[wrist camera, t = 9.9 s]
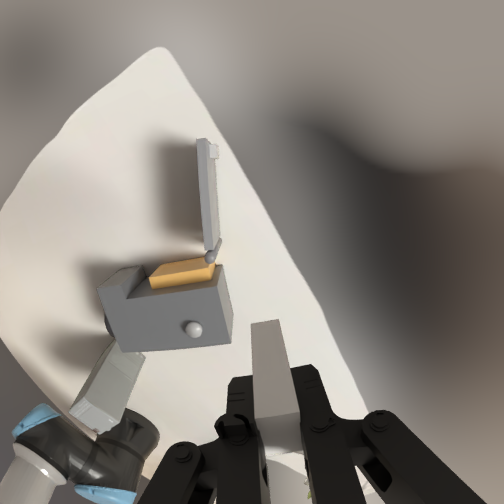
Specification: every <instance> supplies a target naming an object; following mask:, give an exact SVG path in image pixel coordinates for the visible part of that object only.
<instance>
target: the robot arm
mask: <svg viewBox="0 0 504 504" xmlns="http://www.w3.org/2000/svg"><path fill="white" fill-rule="evenodd" d="M251 344H252V368H253V375H249V376H242V377H234V378H233V379H232V380H231V382H230V383H229V385H228V396H227V409H226V414H224V415H222V416H220V417H219V418H218V420H217V421H216V423H215V425H214V427H215V429H216V432H217V434H218V436H219V438H218V439H216V440H215V441H212V442H210V443H207V444H203V445H200V446H197V445H196V444H194V443H191V442H179V443H175V444H174V445H172V446H171V447H170V448H169V449H168V450H167V452H166V453H165V455H164V457H163V459H162V461H161V462H160V464H159V466H158V468H157V470H156V471H155V473H154V475H153V477H152V479H151V480H150V482H149V484H148V486H147V487H146V489H145V491H144V493H143V494H142V496H141V498H140V500H139V502H138V503H137V504H213V503H214V501H215V498H216V504H271V502H270V490H269V478H268V467H267V464H266V457H265V454H266V456H271V455H278V454H285V453H291V452H297V451H302V450H303V452H304V459H305V469H306V471H307V476H308V482H309V487H310V492H311V498H312V503H313V504H366V501H365V497H364V494H363V491H362V488H361V485H360V482H359V479H358V475H357V472H356V469H355V466H357V467H358V468H359V469H360V471H361V472H362V473H363V475H364V476H365V477H366V479H367V480H368V481H369V483H370V484H371V485H372V487H373V488H374V489H375V491H376V492H377V493H378V494H379V496H380V497H381V499H382V500H383V501H384V502H385V504H487V503H485V502H484V501H483V500H482V499H481V498H480V497H479V496H478V495H477V494H476V493H475V492H474V491H473V490H472V489H471V488H470V487H468V486H467V485H466V484H465V483H464V482H463V481H462V480H461V479H460V478H459V477H458V476H457V475H456V474H455V473H454V472H453V471H452V470H451V469H450V468H449V467H448V466H447V465H445V464H444V463H443V462H442V461H441V460H440V459H439V458H438V457H437V456H436V455H435V454H434V453H433V452H432V451H431V450H430V449H429V448H428V447H427V446H426V445H425V444H424V443H423V442H422V441H421V440H420V439H419V438H418V437H417V436H416V435H415V434H414V433H413V432H412V431H411V430H410V429H408V427H407V426H406V425H405V424H404V423H403V422H402V421H401V420H400V419H399V418H398V417H397V416H396V415H395V414H393V413H391V412H390V411H386V410H376V411H374V412H371V413H369V414H368V415H367V416H365V418H364V419H362V420H347V419H343V418H340V417H338V416H337V415H336V414H335V413H333V411H332V409H331V406H330V403H329V400H328V397H327V394H326V392H325V389H324V386H323V383H322V380H321V377H320V375H319V372H318V370H317V369H316V368H315V367H314V366H313V365H311V364H309V365H304V366H299V367H294V368H290V366H289V362H288V357H287V353H286V348H285V344H284V340H283V335H282V331H281V327H280V322H279V319H276V320H271V321H265V322H259V323H252V324H251ZM12 435H13V436H14V438H15V439H16V441H15V442H14V444H13V448H14V451H15V454H16V457H15V458H14V460H13V462H12V464H11V465H10V467H9V469H8V471H7V473H6V474H5V476H4V478H3V480H2V482H1V483H0V504H48V503H49V500H50V498H51V495H52V493H53V491H54V488H55V486H57V485H63V484H66V482H67V480H68V479H69V480H70V481H72V482H73V483H75V485H74V487H75V491H76V492H77V493H78V494H80V495H81V496H83V497H85V498H87V499H89V500H91V501H93V502H96V503H98V504H133V501H134V498H135V496H136V494H137V493H136V492H137V488H138V484H139V481H140V477H141V473H142V469H143V466H144V462H145V460H146V459H147V457H148V456H149V455H150V454H151V452H152V451H153V450H154V449H155V448H156V447H157V445H158V442H159V438H160V434H159V432H158V430H157V428H156V427H155V426H154V425H153V424H152V423H151V422H150V421H149V420H147V419H146V418H145V417H143V416H141V415H140V414H138V413H136V412H134V411H131V410H129V409H126V408H125V410H124V412H123V415H122V418H121V420H120V423H118V424H117V425H115V426H114V427H112V428H111V430H110V431H105V432H103V433H102V434H98V433H97V438H96V441H95V442H94V441H93V440H91V439H90V438H89V437H87V436H86V435H85V434H83V433H82V432H81V431H79V430H78V429H77V428H75V427H74V426H73V425H72V424H71V423H69V422H68V421H67V420H66V419H65V418H63V417H62V415H61V414H59V413H57V412H56V411H55V410H54V409H52V408H51V407H50V406H49V405H47V404H44V403H41V404H39V405H38V406H36V407H35V408H34V409H33V410H32V411H31V412H30V413H28V414H27V415H26V416H25V417H24V418H23V419H22V421H21V422H20V423H19V424H18V425H17V426H16V427H15V428H14V429H13V431H12Z"/></svg>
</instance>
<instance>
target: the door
mask: <svg viewBox="0 0 504 504" xmlns="http://www.w3.org/2000/svg"><path fill="white" fill-rule="evenodd" d="M196 142H197V161H198V177H199V191H200V204H201V216H202V228H203V238H204V248H205V250H214V248H215V246H216V244H217V241H218V239H219V237H220V225H219V212H218V198H217V183H216V167H215V159H219V148H218V145H217V144H211V143H210V142H209V141H208V140H207V139H206V138H202V139H196Z"/></svg>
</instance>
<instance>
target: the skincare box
mask: <svg viewBox="0 0 504 504" xmlns="http://www.w3.org/2000/svg"><path fill="white" fill-rule="evenodd" d="M144 361H145V357H144V356H143V355H142V354H141V353H139V352H128V353H122V352H121V349H120V347H119V345H118V343H117V341H116V339H115V340H114V341H113V342H112V343H111V344H110V345H109V347H108V348H107V349H106V350H105V351H104V353H103V354H102V355H101V357H100V359H99V360H98V362H97V364H96V365H95V367H94V369H93V370H92V372H91V374H90V375H89V377H88V379H87V380H86V382H85V384H84V385H83V387H82V389H81V391H80V392H79V394H78V396H77V398H76V399H75V401H74V403H73V405H72V406H71V408H70V410H69V411H68V413H70V414H71V415H72V416H74V417H75V418H76V419H78V420H79V421H80V422H82V423H83V424H85V425H86V426H87V427H89V428H90V429H92V430H93V431H95V432H96V433H98V434H102V433H103V432H105V431H110V430H111V428H112V427H114V426H115V425H117V424H118V423H120V420H121V418H122V415H123V412H124V410H125V407H126V405H127V402H128V400H129V397H130V395H131V392H132V390H133V387H134V385H135V382H136V380H137V377H138V375H139V372H140V370H141V368H142V365H143V363H144Z"/></svg>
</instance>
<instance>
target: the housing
mask: <svg viewBox="0 0 504 504" xmlns="http://www.w3.org/2000/svg"><path fill="white" fill-rule="evenodd" d="M221 243H222V240H221V238H220V237H219V239H218V241H217V244H216V246H215V248H214V250H208V251H207V253H206V255H205V257H201V258H195V259H189V260H184V261H178V262H172V263H167V264H161V265H160V266H159V267H158V268H157V269H156V270H155V271H154V273H153V274H152V275H151V276H150V277H147V278H146V276H145V272H144V269H143V265H141V266H135V267H130V268H124V269H120V270H119V271H118V272H116V273H115V274H114V275H112V276H111V277H110V278H109V279H108V280H106V281H105V282H104V283H103V284H101V285H100V286H99V287H98V288H97V292H98V295H99V298H100V300H101V303H102V306H103V308H104V311H105V325H106V328H107V331H108V332H109V334H110V335H111V336H112V337H115V338H116V341H117V343H118V345H119V347H120V349H121V352H122V353H128V352H148V351H163V350H176V349H187V348H197V347H206V346H215V345H223V344H230V343H231V340H232V327H233V310H232V305H231V301H230V297H229V292H228V288H227V283H226V279H225V274H224V269H223V265H219V266H216V265H215V259H216V256H217V254H218V251H219V248H220V245H221Z"/></svg>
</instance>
